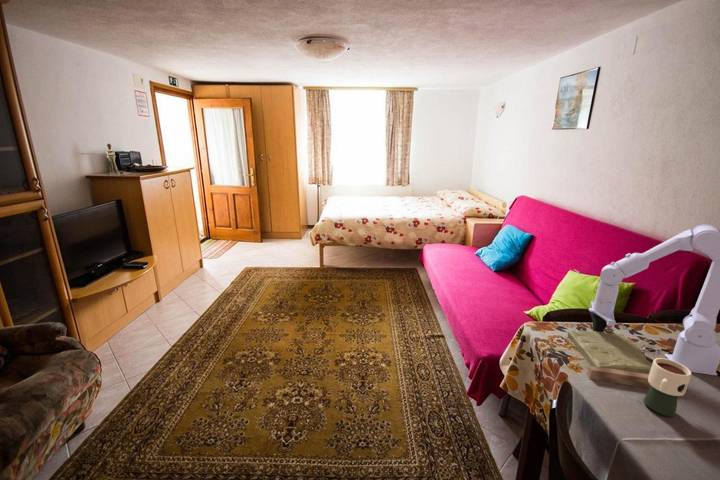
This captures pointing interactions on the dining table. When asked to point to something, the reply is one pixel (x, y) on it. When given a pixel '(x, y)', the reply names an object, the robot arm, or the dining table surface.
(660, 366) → the character mug
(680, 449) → the dining table surface
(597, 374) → the rail
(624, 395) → the dining table surface
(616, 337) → the decorative tile
